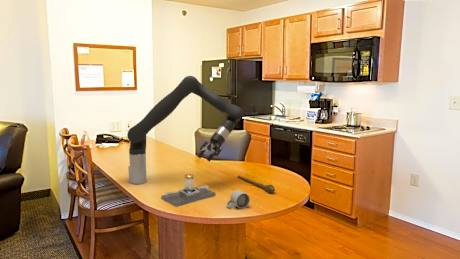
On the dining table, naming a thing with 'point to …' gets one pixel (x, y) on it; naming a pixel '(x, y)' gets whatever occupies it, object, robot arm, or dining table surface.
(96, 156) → the dining table surface
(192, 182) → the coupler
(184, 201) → the coupling base
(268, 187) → the torque wrench
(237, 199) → the ceramic mug
